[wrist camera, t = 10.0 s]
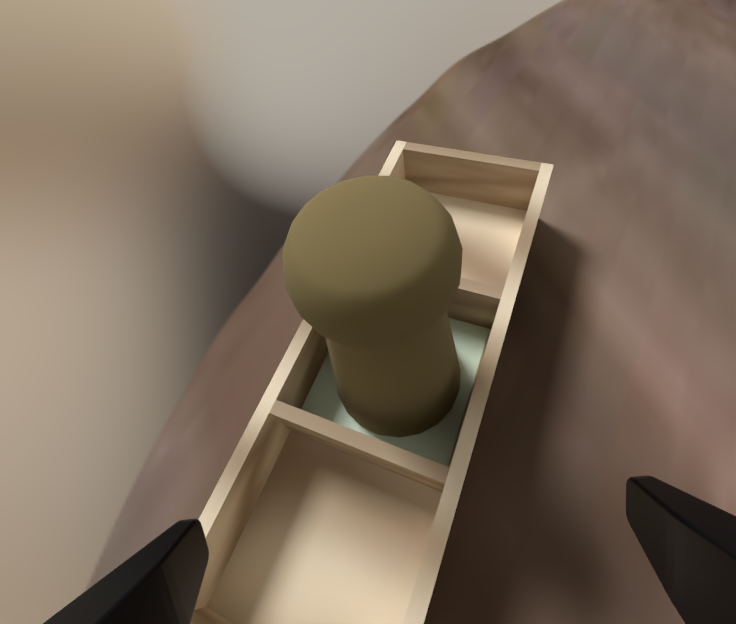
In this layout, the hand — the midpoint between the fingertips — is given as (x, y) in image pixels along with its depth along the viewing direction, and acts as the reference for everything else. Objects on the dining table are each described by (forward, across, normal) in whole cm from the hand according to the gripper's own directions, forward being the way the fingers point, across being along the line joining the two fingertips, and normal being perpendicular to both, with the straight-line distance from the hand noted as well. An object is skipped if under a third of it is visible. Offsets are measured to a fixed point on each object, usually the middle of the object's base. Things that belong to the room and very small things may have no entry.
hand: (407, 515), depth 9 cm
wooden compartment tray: (+12, 0, +2) cm, 13 cm away
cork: (+12, 0, +2) cm, 12 cm away
